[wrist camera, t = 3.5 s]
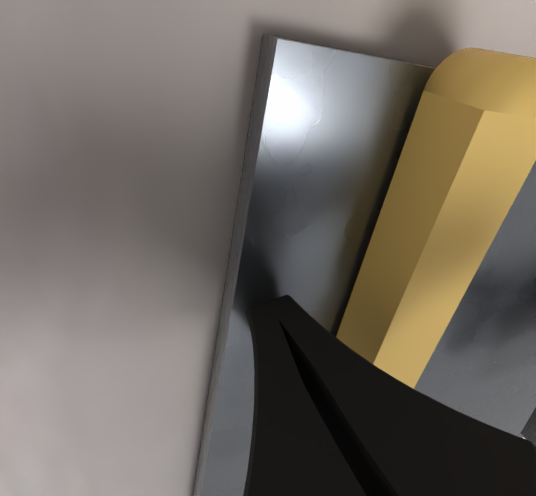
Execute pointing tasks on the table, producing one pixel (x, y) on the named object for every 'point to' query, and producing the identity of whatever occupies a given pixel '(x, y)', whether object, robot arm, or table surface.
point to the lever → (443, 207)
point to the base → (353, 244)
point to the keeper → (530, 428)
